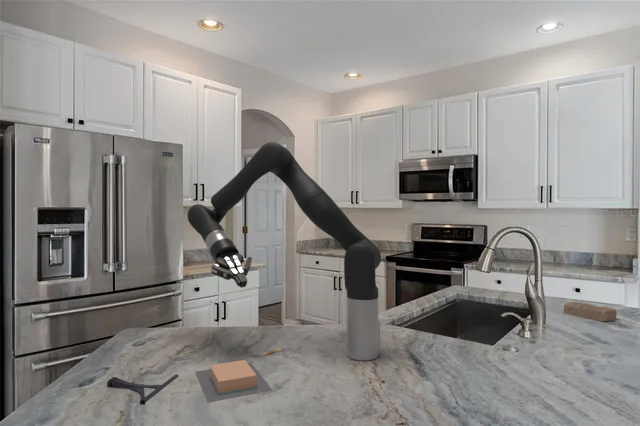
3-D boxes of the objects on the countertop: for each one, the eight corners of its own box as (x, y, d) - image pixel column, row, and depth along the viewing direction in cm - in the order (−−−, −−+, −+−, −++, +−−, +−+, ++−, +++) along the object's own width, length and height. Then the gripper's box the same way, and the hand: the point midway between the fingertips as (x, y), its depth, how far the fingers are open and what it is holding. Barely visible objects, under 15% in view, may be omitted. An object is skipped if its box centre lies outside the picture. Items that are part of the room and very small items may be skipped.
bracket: (127, 376, 111) (127, 366, 111) (179, 380, 108) (179, 370, 108) (87, 402, 97) (87, 390, 96) (146, 407, 94) (146, 395, 94)
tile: (245, 359, 111) (256, 375, 101) (245, 371, 111) (256, 387, 101) (210, 365, 107) (218, 381, 97) (210, 377, 107) (218, 394, 97)
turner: (278, 350, 129) (278, 347, 129) (285, 353, 126) (285, 349, 126) (242, 361, 119) (242, 358, 119) (248, 364, 117) (248, 361, 117)
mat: (251, 364, 117) (251, 362, 117) (272, 392, 100) (272, 390, 100) (195, 373, 111) (195, 371, 111) (207, 405, 93) (207, 402, 93)
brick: (562, 313, 173) (562, 302, 173) (574, 311, 177) (574, 300, 177) (605, 323, 159) (605, 311, 159) (617, 321, 163) (617, 308, 162)
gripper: (200, 241, 124) (222, 280, 113) (242, 234, 131) (267, 269, 120) (199, 261, 128) (220, 300, 117) (240, 252, 135) (263, 289, 124)
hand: (243, 284), depth 118 cm, fingers closed
